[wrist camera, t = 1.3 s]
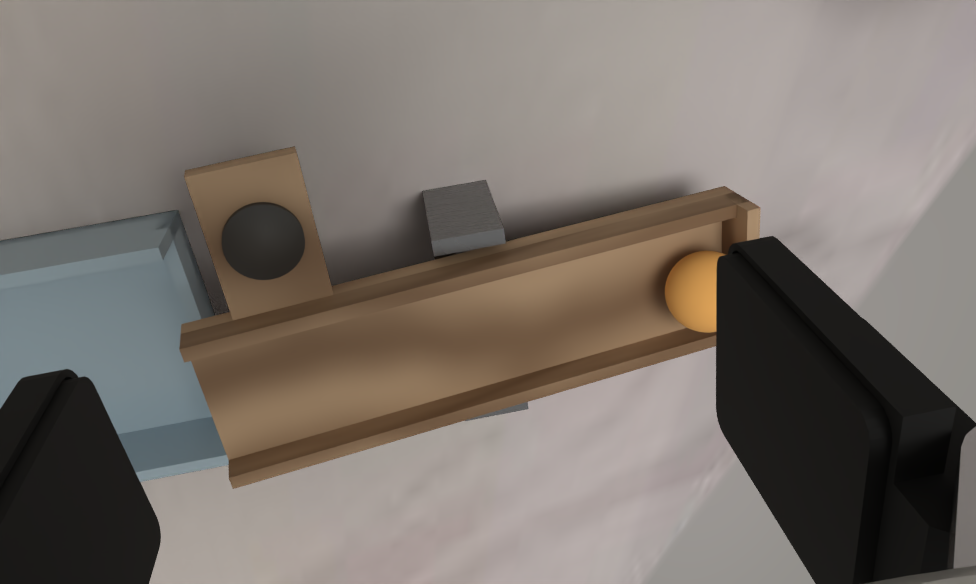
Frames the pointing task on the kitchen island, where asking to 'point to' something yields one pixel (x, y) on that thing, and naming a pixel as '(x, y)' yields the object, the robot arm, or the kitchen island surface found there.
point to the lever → (422, 318)
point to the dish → (115, 331)
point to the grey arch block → (464, 228)
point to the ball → (694, 291)
